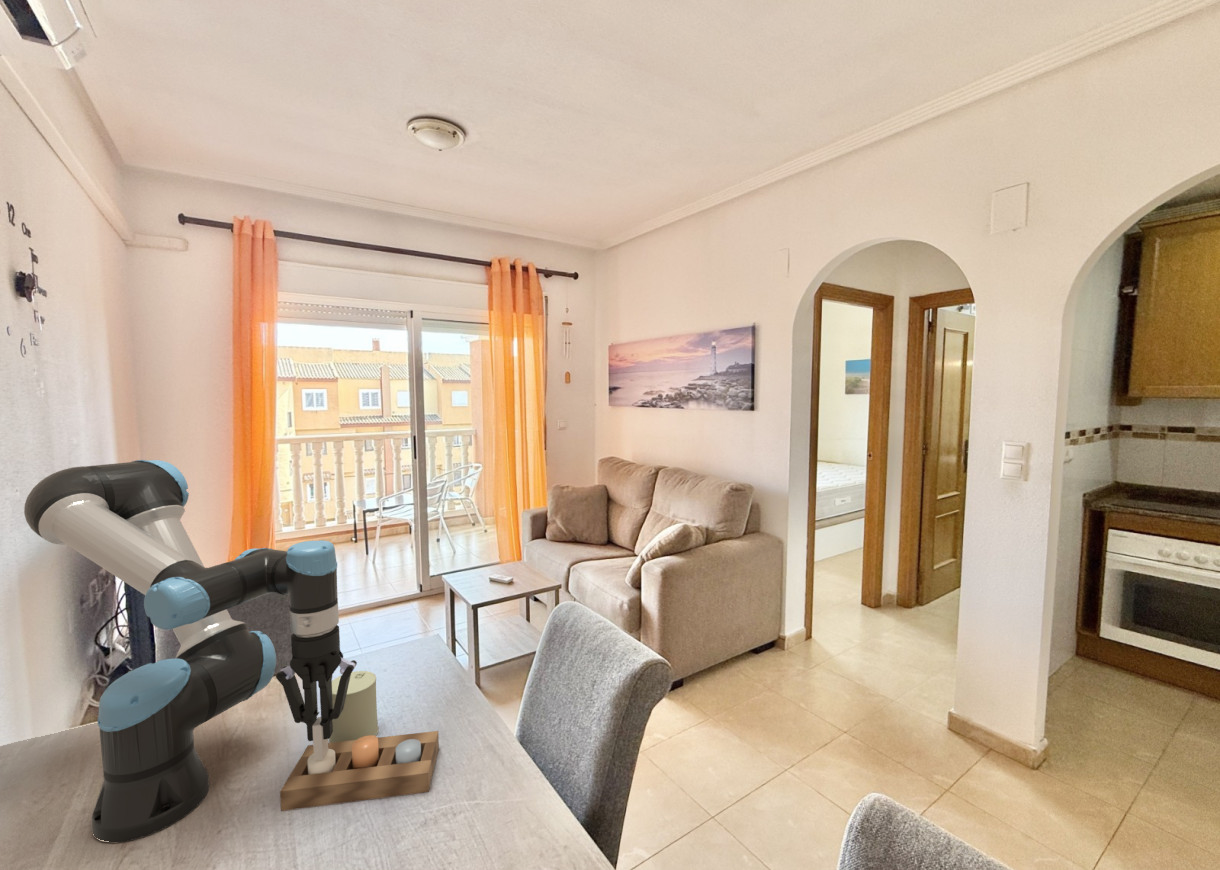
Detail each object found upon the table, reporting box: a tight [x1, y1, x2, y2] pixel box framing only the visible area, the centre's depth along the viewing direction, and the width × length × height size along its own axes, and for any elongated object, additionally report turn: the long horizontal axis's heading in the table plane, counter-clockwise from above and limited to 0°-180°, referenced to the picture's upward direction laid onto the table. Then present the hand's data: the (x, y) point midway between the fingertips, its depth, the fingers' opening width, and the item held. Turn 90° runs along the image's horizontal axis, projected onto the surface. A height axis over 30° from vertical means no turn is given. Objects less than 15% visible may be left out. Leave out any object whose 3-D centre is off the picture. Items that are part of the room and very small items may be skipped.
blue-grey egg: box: [396, 739, 421, 764], centre depth 98 cm, size 4×4×5 cm
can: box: [328, 670, 379, 743], centre depth 108 cm, size 9×9×12 cm
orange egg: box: [352, 735, 379, 769], centre depth 97 cm, size 4×4×5 cm
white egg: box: [308, 749, 336, 775], centre depth 95 cm, size 4×4×5 cm
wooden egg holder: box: [279, 730, 440, 812], centre depth 97 cm, size 24×12×4 cm, turn 100°
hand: (321, 755), depth 95 cm, fingers closed
